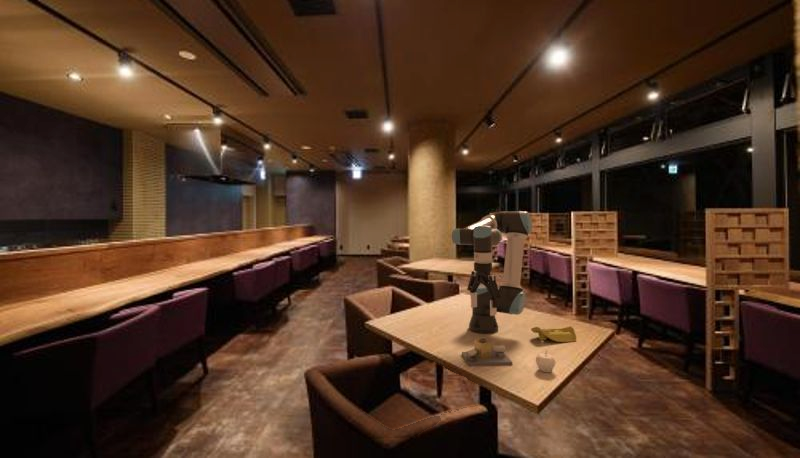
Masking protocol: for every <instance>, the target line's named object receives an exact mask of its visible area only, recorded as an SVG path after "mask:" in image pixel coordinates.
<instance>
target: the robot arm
mask: <svg viewBox="0 0 800 458" xmlns="http://www.w3.org/2000/svg"><path fill="white" fill-rule="evenodd" d="M532 232H533V221H532V217H531V214H530V213H529V212H528V211H523V210H522V211H521V210H517V211H516V210H515V211H513V210H512V211H498V212H492V213H490V214H488V215H485V216H483V217H482V218H481V219H480V220H479V221H477V222H474V223H472V224H470V225H468V226H466V227H463V228H454V229H453V230H452V231H451V241H452V243H453V244H454V245H459V246H462V245H463V246H465V245H467V246H473V261H474V262H473V270H472V271H470V272H471V273H470V274H471V275H470V278H469V282H468V284H467V291H469V293H470V308H471V310H472V314H471V317H470V321H469V322H468V323H469V324H468V329H469V331H471V332H472V333H473V332H474V333H477V334H484V335H485V334H486V335H487V334H488V335H489V334H495V333H498V331H499V325H498V322H497V318H496V316H497V313H502V314H508V315H516V316H519V315H521V314H522V312H523V311H524V309H525V306H526V302H527V301H526V300H527V294H526V293H525V292H524V291H523V290H524V288H523V287H522V286H521V277H522V268H523V267H522V266H523V258H524V256H523V255H524V249H525V248H524V245H525V240H526V239H527V238H528V237H529V234H531V233H532ZM502 234H504V236H505V237H506V246H505V247H506V249H505V258H504V266H503V267H504V268H503V275H502V276H503V277H502V283H501V284H499V286H498V283H497V278H496V274H495V275H491V272H492V271H493V263H492V261H493V247H494V246H497V245H498V244H500V243H501V241H502V239H503V235H502ZM481 284H482V285H481Z"/></svg>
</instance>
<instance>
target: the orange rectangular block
mask: <svg viewBox="0 0 800 458" xmlns="http://www.w3.org/2000/svg"><path fill="white" fill-rule="evenodd" d="M473 344H474V349H476V348H477V349H479V351H480V354H479V355H476V356H477V357H478V358H480V359H484V358H489V357H491V346H492V345H491V341H489V340H487V339H486V338H478V339H474V343H473Z"/></svg>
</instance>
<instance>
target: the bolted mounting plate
mask: <svg viewBox="0 0 800 458" xmlns="http://www.w3.org/2000/svg"><path fill="white" fill-rule="evenodd" d="M505 352H506V347H505V345H491V357H489V358H484V359H480V358H478V357H477V356H475V357H477V361H475V362H471V361H468V360H466V356H467V354H466V353H467V351H462V352H461V356H462V357H463V359H464V360H465V363H466V364H467V366H468V367H480V366H482V367H484V366H513V361H512V359H510V358H509V356H508V355H507V354H506V353H505Z"/></svg>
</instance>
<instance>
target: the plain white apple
mask: <svg viewBox="0 0 800 458" xmlns="http://www.w3.org/2000/svg"><path fill="white" fill-rule="evenodd" d="M535 363H536V365H537V368H538V370H539V371H540V372H543V373H551V372H552V371H553V369H554V367H555V366H556V359H555V357H554V356H553V355H551V354H549V353H548V349H547V350H546V351H545V353H544V352H542V353H538V354H537V355H536V357H535Z"/></svg>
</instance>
